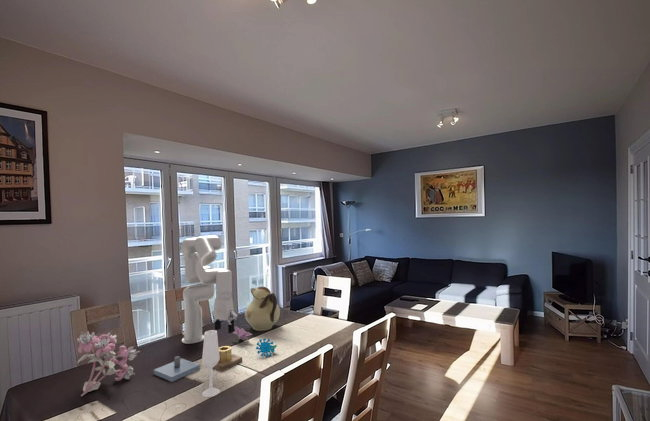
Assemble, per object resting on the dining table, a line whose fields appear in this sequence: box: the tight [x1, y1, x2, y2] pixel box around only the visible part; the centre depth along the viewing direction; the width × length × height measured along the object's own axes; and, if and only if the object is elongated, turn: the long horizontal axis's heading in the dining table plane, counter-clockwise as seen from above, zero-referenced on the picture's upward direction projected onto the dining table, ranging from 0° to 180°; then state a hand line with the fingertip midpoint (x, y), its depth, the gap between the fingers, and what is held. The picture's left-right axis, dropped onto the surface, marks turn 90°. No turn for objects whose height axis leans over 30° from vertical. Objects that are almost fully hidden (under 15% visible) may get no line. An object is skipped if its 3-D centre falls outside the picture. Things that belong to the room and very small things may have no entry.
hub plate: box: [153, 355, 201, 383], centre depth 147 cm, size 14×14×6 cm
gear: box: [255, 337, 278, 358], centre depth 166 cm, size 11×6×10 cm
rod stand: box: [212, 353, 243, 372], centre depth 155 cm, size 12×12×6 cm
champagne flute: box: [201, 329, 221, 398], centre depth 129 cm, size 7×7×24 cm
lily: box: [231, 325, 253, 345], centre depth 182 cm, size 12×12×10 cm
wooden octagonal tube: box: [218, 345, 232, 362], centre depth 155 cm, size 7×7×5 cm
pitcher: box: [244, 286, 281, 332], centre depth 208 cm, size 22×24×25 cm
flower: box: [77, 330, 141, 397], centre depth 136 cm, size 20×22×25 cm
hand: (224, 331), depth 155 cm, fingers open, 9 cm apart
